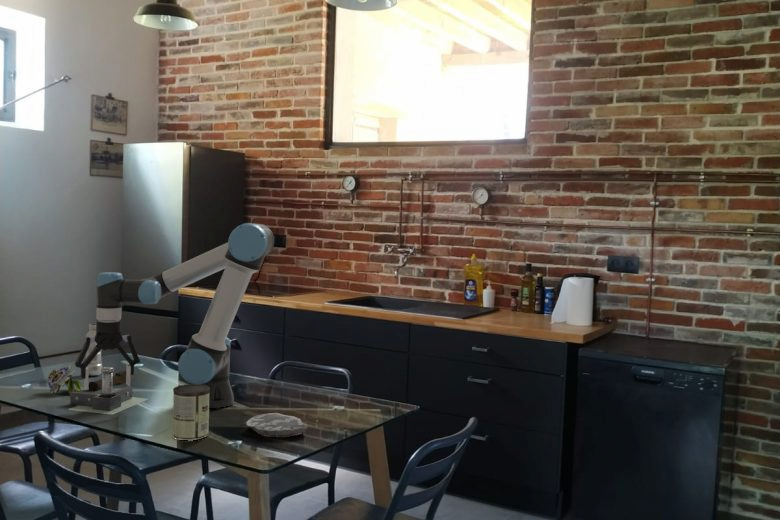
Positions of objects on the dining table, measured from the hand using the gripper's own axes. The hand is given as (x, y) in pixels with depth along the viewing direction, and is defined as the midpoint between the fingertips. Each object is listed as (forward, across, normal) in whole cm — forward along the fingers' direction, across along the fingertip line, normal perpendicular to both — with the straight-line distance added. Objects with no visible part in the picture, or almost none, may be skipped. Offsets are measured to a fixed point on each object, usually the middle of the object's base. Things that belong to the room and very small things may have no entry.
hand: (107, 386), depth 232 cm
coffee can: (+8, -16, +38) cm, 42 cm away
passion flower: (+8, +8, -27) cm, 29 cm away
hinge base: (+7, +4, -4) cm, 9 cm away
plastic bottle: (+8, -5, -52) cm, 52 cm away
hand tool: (+8, -7, -32) cm, 33 cm away
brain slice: (+8, -40, +44) cm, 60 cm away
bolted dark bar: (+7, -6, -6) cm, 11 cm away
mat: (+7, -2, -5) cm, 9 cm away
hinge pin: (+7, 0, 0) cm, 7 cm away
